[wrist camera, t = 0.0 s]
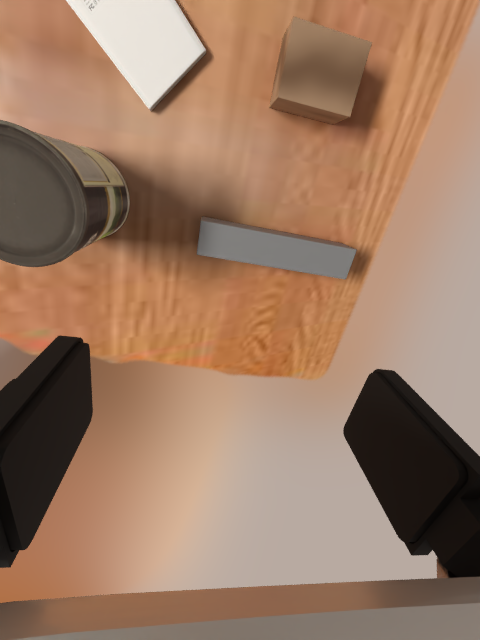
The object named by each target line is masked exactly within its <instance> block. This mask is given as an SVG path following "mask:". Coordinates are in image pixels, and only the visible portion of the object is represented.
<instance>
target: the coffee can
mask: <svg viewBox="0 0 480 640" xmlns="http://www.w3.org/2000/svg"><path fill="white" fill-rule="evenodd" d="M129 206H130V199H129V192H128V188H127V185H126V182H125V180H124V178H123V176H122V175H121V173H120V171H119V170H118V169H117V168H116V166H115V165H114V164H113V163H112V162H111V161H110V160H109V159H108V158H106V157H105V156H104V155H102V154H101V153H99V152H97V151H95V150H93V149H91V148H88V147H84V146H78V145H75V144H72V143H68V142H65V141H62V140H58V139H55V138H52V137H48V136H45V135H42V134H39V133H36V132H32V131H30V130H28V129H26V128H24V127H21V126H19V125H16V124H14V123H10V122H7V121H3V120H0V259H1V260H3V261H6V262H9V263H12V264H16V265H20V266H26V267H42V266H48V265H52V264H55V263H58V262H61V261H62V260H64V259H66V258H67V257H69V256H70V255H72V254H73V253H74V252H76V251H78V250H80V249H82V248H84V247H86V246H88V245H90V244H92V243H94V242H95V241H97V240H99V239H101V238H103V237H105V236H109V235H111V234H113V233H114V232H116V231H117V230H118V229H119V228H120V227H121V226H122V225H123V223H124V222H125V220H126V218H127V216H128V212H129Z"/></svg>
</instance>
